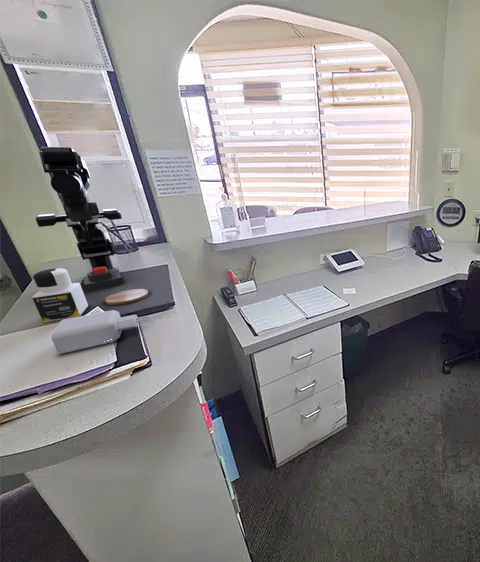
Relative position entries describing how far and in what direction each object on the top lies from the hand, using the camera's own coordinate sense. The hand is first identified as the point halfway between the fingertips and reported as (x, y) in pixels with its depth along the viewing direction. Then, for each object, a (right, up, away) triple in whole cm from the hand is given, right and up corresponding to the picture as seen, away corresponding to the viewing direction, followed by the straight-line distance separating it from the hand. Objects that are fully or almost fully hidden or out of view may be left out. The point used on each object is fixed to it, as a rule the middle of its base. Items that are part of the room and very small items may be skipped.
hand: (90, 244), depth 96 cm
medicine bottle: (+9, -20, -16) cm, 27 cm away
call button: (0, -9, +3) cm, 9 cm away
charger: (+29, -24, -27) cm, 46 cm away
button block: (0, -12, +5) cm, 13 cm away
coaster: (+17, -16, -6) cm, 24 cm away
